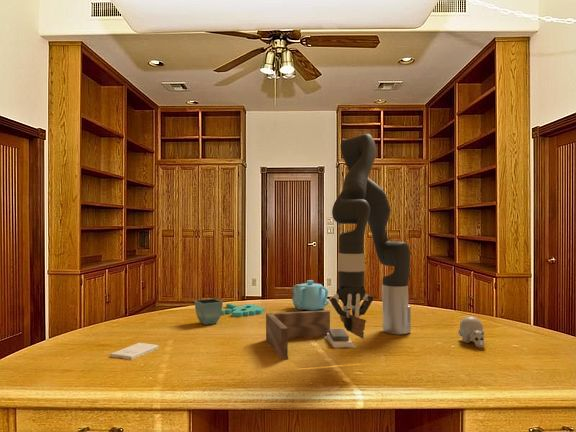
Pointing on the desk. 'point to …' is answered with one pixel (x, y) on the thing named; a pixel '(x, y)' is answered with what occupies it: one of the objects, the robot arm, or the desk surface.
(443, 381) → the desk surface
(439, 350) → the desk surface
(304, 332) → the walnut rack
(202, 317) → the flower pot
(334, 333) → the grey rectangular block
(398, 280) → the robot arm
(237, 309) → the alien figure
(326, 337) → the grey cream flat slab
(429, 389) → the desk surface
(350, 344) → the white offcut
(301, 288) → the decorative pot
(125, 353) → the external hard drive
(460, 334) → the grey animal figurine
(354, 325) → the wood plank
